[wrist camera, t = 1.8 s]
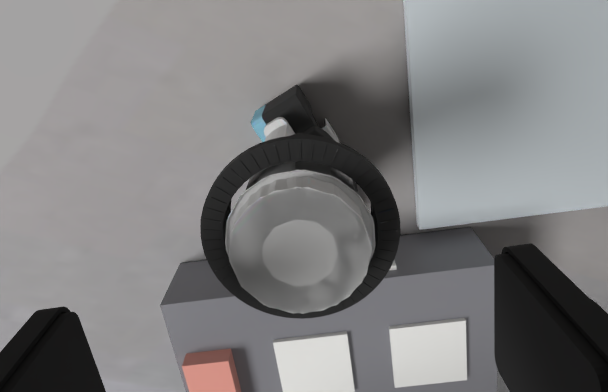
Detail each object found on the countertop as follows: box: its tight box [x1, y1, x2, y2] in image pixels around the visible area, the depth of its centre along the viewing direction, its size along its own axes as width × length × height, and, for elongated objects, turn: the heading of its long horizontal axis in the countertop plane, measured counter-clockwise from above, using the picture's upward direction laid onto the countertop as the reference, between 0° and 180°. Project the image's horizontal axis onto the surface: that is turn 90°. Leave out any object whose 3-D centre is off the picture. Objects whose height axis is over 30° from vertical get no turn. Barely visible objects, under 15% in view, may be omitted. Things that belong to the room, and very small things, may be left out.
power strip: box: [160, 227, 497, 392], centre depth 23 cm, size 14×8×4 cm, turn 98°
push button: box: [201, 85, 400, 319], centre depth 17 cm, size 7×5×10 cm
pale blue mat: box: [403, 0, 608, 230], centre depth 20 cm, size 10×10×1 cm
